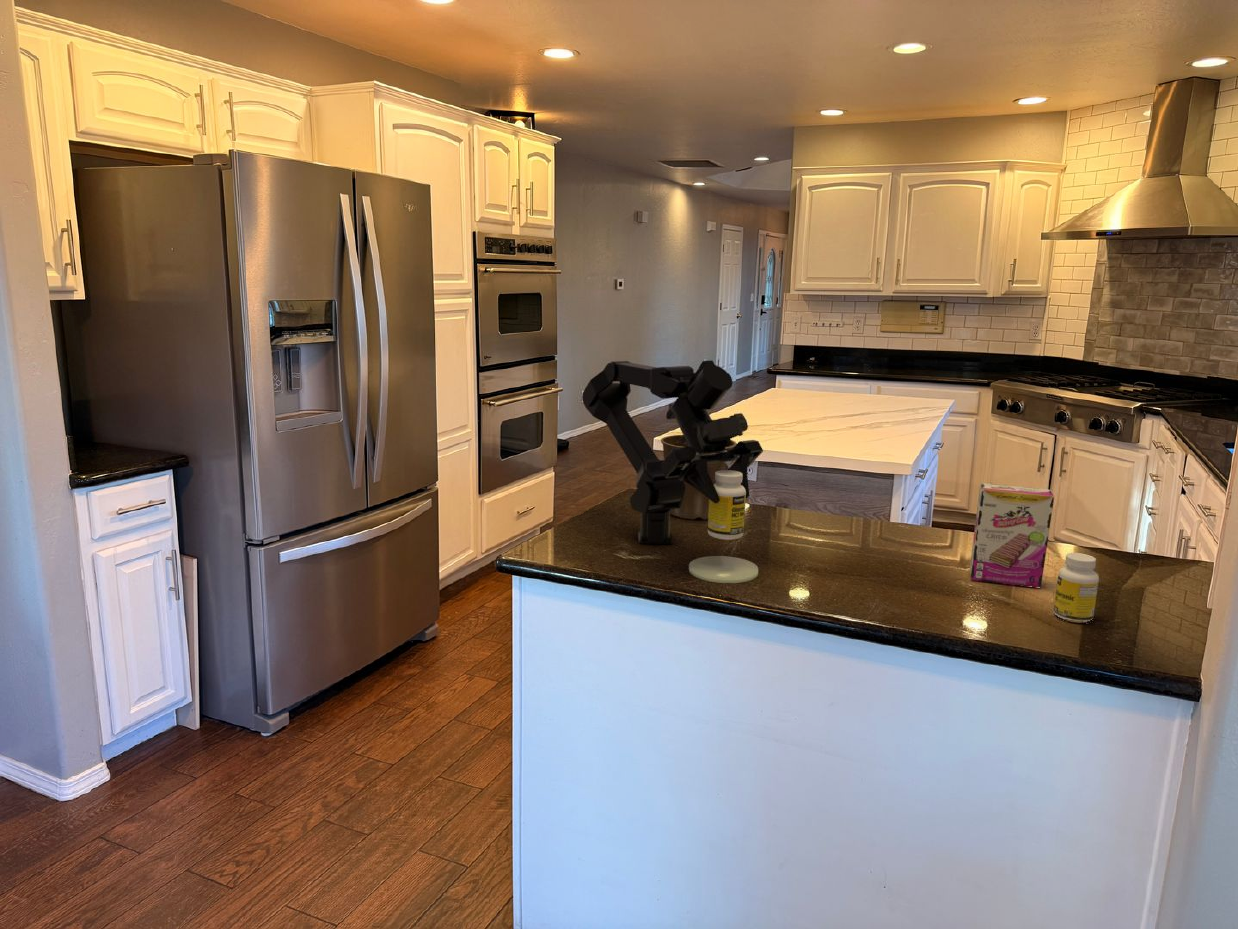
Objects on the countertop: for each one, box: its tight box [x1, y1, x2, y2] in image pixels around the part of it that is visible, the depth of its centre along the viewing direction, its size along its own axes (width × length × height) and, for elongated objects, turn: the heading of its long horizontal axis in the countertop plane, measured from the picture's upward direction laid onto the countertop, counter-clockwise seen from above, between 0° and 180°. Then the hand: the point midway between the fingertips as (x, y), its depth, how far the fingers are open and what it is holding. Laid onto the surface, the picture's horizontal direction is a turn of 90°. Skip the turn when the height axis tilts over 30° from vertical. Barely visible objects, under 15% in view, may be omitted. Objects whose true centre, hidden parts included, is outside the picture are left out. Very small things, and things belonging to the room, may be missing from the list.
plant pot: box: [660, 434, 738, 521], centre depth 181 cm, size 16×16×16 cm
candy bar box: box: [969, 482, 1055, 588], centre depth 141 cm, size 11×5×16 cm, turn 71°
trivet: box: [688, 555, 759, 584], centre depth 145 cm, size 12×12×1 cm
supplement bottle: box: [1053, 552, 1100, 622], centre depth 126 cm, size 5×5×10 cm
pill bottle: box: [707, 470, 747, 541], centre depth 143 cm, size 6×6×11 cm
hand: (732, 499), depth 141 cm, fingers closed on pill bottle, 6 cm apart
